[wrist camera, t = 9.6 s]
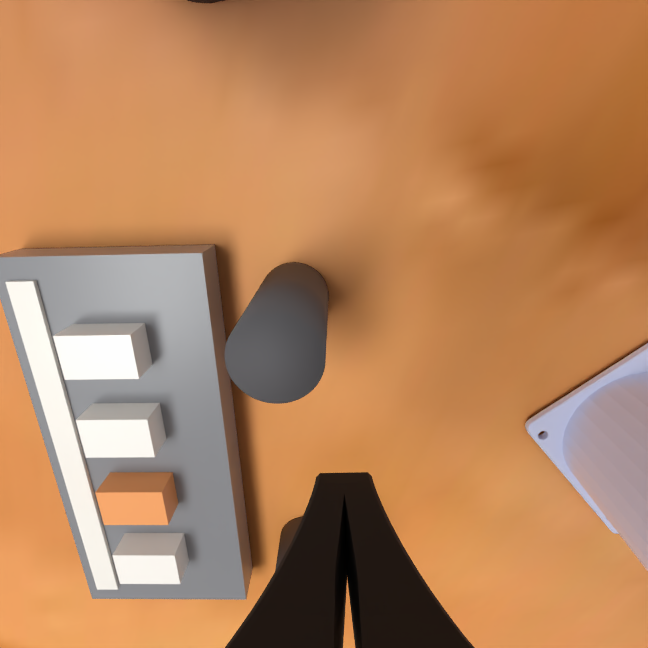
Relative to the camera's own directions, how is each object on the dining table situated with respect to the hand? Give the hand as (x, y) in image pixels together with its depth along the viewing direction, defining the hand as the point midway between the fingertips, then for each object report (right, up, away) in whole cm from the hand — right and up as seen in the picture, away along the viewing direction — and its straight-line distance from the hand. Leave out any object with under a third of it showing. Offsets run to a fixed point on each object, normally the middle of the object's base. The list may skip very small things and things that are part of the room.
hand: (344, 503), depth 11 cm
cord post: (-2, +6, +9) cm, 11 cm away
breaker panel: (-10, -1, +12) cm, 15 cm away
